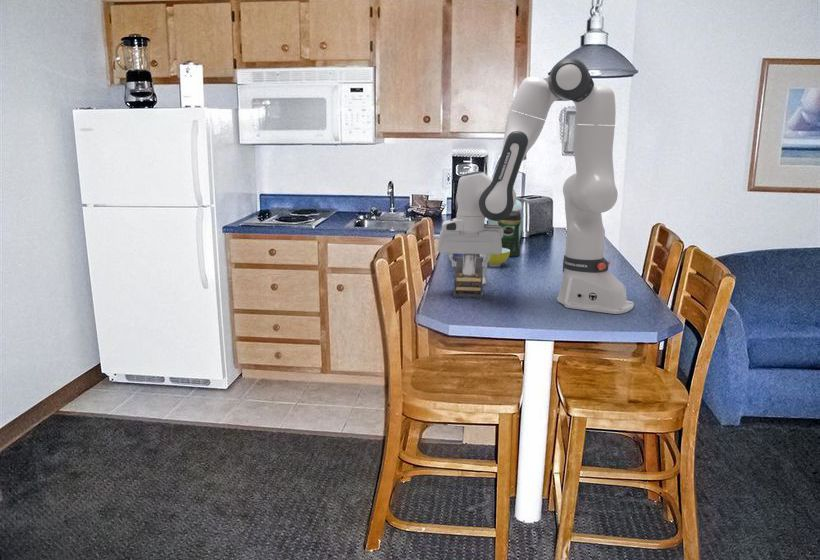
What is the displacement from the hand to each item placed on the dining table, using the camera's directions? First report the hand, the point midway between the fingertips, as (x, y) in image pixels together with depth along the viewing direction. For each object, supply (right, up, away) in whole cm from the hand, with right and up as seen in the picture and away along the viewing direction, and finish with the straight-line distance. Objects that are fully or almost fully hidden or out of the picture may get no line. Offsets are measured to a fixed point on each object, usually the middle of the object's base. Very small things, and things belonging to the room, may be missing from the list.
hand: (469, 267), depth 206 cm
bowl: (+14, +1, +43) cm, 45 cm away
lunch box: (+25, +14, +97) cm, 101 cm away
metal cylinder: (0, -7, +2) cm, 8 cm away
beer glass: (+5, -5, +16) cm, 17 cm away
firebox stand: (0, -8, +2) cm, 9 cm away
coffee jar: (+22, +6, +63) cm, 67 cm away
